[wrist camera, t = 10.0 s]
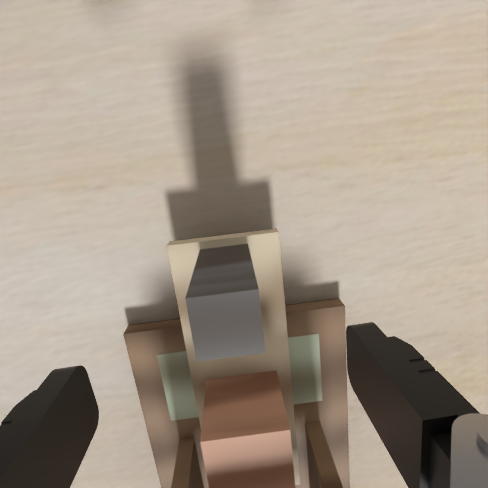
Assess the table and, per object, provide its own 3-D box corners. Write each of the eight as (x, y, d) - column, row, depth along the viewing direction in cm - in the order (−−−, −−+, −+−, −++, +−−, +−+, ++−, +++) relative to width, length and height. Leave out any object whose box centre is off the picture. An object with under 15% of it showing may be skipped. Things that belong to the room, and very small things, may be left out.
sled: (169, 241, 20) (133, 293, 12) (276, 228, 20) (306, 271, 13) (214, 483, 26) (208, 622, 18) (297, 472, 26) (327, 605, 18)
